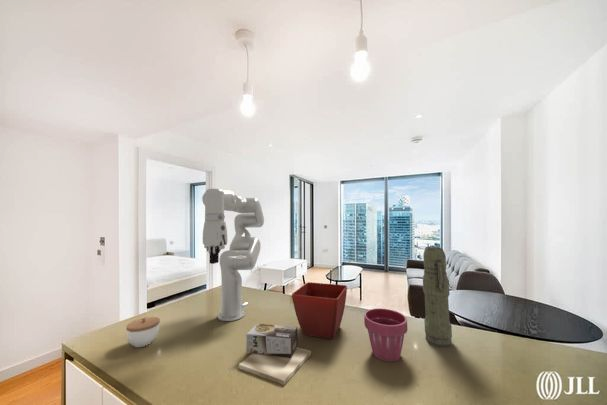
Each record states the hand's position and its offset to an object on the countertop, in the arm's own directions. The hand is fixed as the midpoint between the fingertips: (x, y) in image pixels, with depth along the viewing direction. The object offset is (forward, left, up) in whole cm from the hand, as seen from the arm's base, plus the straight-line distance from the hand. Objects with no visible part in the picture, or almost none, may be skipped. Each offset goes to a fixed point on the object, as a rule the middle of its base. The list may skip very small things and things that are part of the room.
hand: (214, 262), depth 98 cm
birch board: (+2, +33, -29) cm, 44 cm away
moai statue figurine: (-36, +80, -29) cm, 92 cm away
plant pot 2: (-18, +64, -29) cm, 73 cm away
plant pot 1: (-24, +37, -29) cm, 53 cm away
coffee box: (+1, +21, -25) cm, 32 cm away
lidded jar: (+16, -20, -29) cm, 39 cm away
